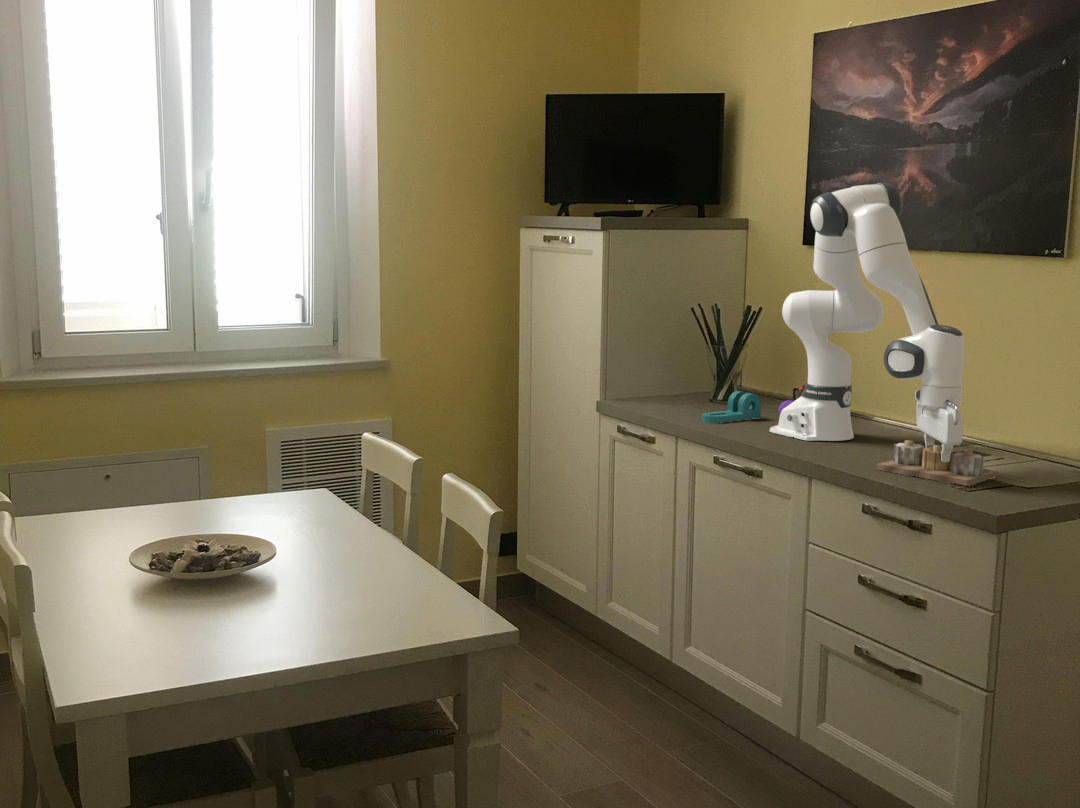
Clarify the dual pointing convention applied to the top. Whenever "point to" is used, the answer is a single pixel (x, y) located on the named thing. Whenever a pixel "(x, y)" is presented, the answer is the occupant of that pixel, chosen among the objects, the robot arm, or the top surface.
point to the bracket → (737, 408)
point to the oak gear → (934, 460)
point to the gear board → (962, 470)
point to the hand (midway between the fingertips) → (937, 457)
